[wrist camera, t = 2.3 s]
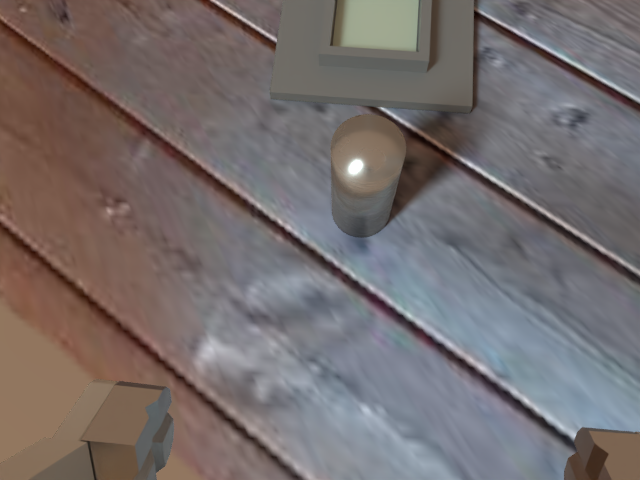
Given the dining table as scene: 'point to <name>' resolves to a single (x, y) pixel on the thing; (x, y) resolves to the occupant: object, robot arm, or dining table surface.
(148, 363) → the dining table surface
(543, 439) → the dining table surface
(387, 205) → the cylinder
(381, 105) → the grey holder tray
